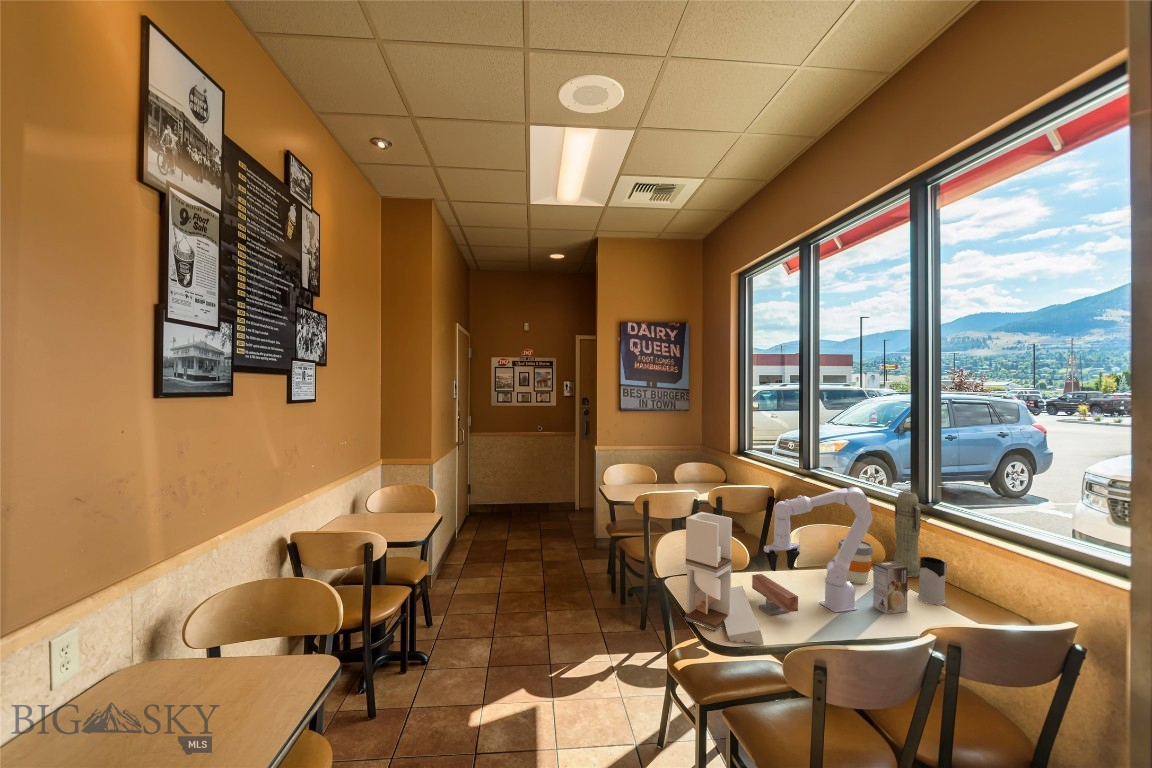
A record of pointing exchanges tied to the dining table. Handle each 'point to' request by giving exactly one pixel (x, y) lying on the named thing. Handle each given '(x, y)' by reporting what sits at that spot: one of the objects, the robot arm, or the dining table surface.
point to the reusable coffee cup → (859, 563)
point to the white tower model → (708, 569)
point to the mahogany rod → (775, 593)
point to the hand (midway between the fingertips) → (781, 569)
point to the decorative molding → (742, 619)
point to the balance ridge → (772, 608)
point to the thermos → (907, 531)
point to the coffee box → (890, 587)
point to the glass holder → (932, 580)
